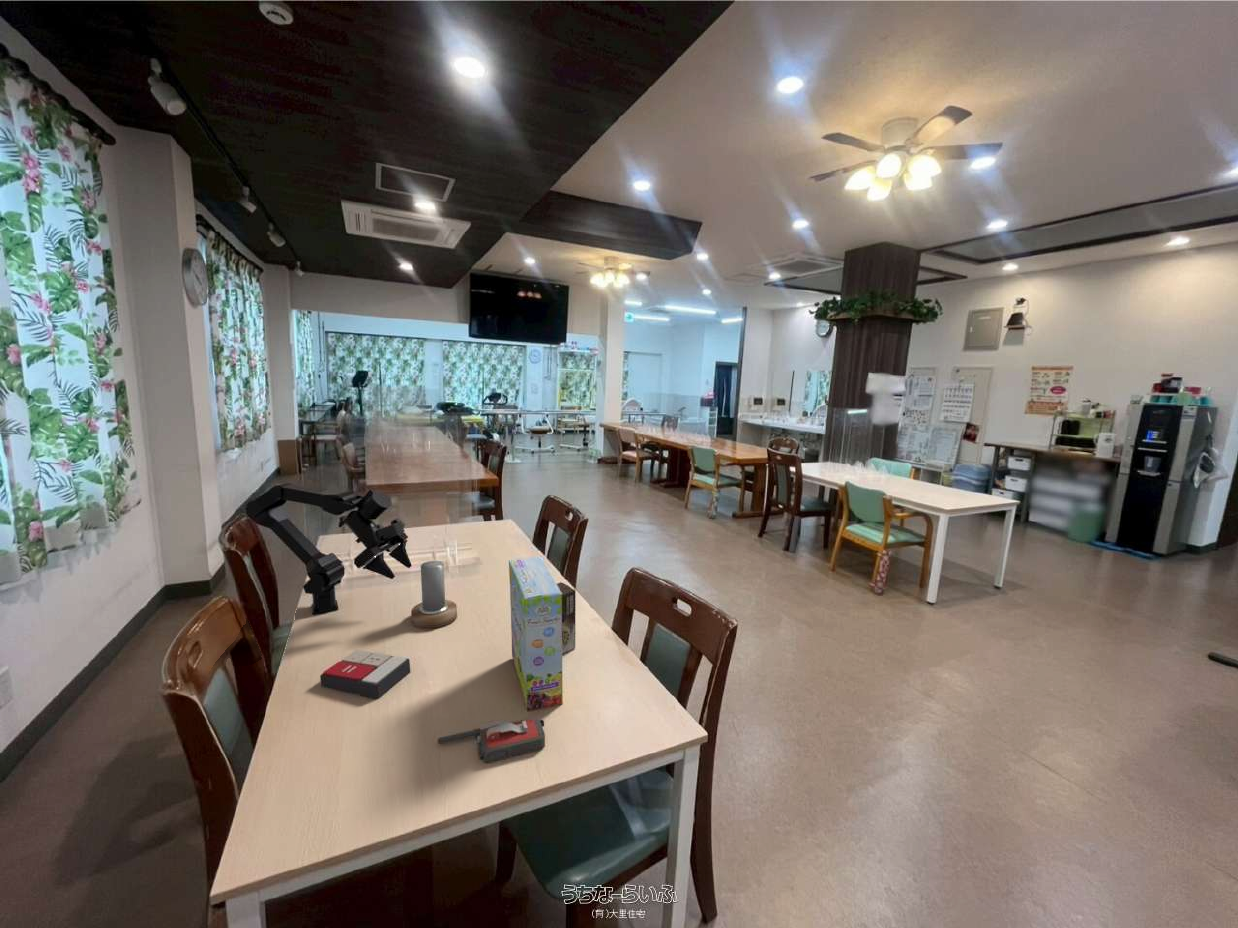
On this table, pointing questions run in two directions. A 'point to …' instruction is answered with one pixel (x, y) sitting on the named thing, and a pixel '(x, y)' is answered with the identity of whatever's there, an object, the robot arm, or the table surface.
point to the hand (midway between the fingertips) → (402, 572)
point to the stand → (434, 617)
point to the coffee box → (567, 617)
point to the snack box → (536, 632)
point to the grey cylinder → (433, 588)
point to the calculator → (366, 673)
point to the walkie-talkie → (505, 738)
